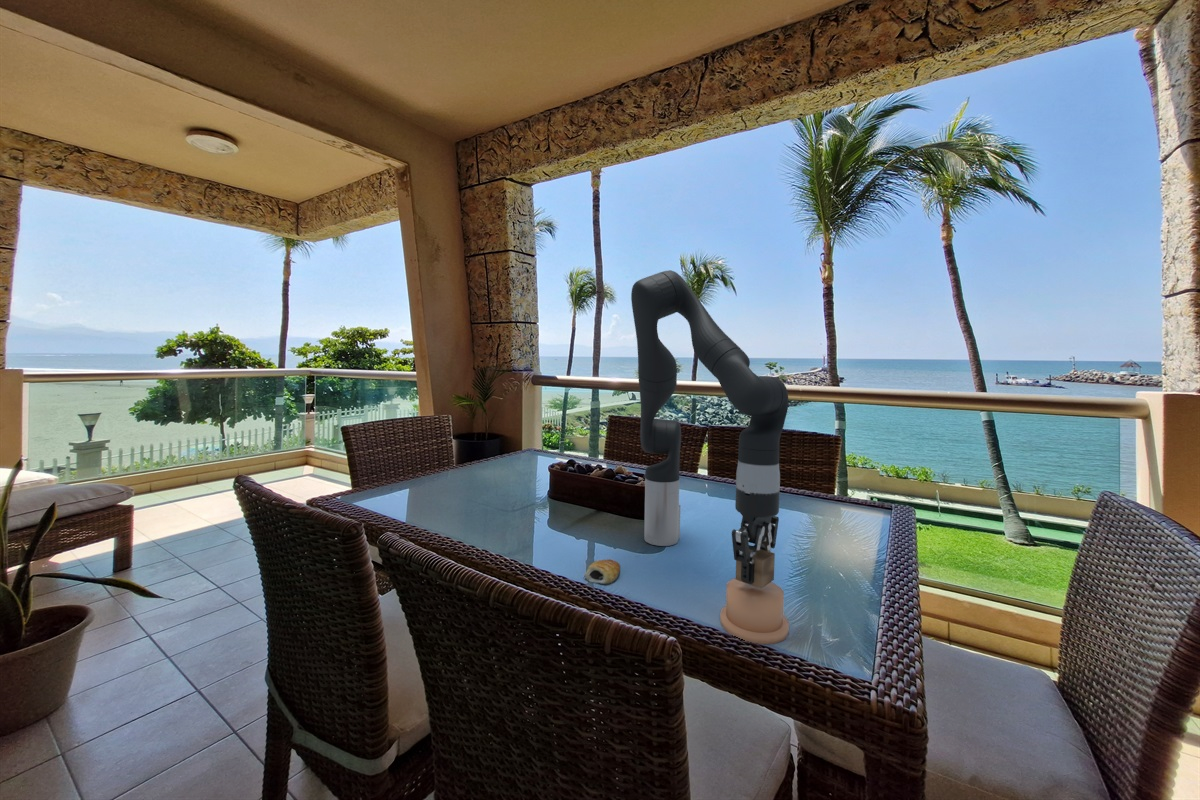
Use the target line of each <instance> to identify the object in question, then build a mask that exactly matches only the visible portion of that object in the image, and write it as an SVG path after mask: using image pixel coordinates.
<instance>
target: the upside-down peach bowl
mask: <svg viewBox="0 0 1200 800" xmlns="http://www.w3.org/2000/svg"><path fill="white" fill-rule="evenodd" d="M725 593H726V597H725V598H726V600H725V602H726V603H725V604H726V605H725V606H723V607H722V609H721V610H720V613H719V614H720V615H719V618H720V625H721V627H722V628H723V629H724V631H725V632H726V633H728V634H729V635H730V636H732V635H733V637H734V636H736V637H738V638H740V639H739V640H741V639H743V640H745V642H747V641H749V642H748V643H750V642H752V643H751V644H756V643H758V644H757V645H774V644H777V643H780V642H783V641H784V640H786V638H788V636H789V633H790V631H789V629H790V624H789V620H788V618H787V617H786V616H785V614H784V605H785V603H784V602H785V601H784V599H785V597H784V596H785V592H784V589H783V588H782V587H781V586H779V585H778V584H776V583H775V582H773V581H772V582H770V583H769V584H767V585H766V586H764V587H763V588H762V589H761V588H758V587H755V586H752V585H749V584H747V583H744V582H741V581H738V580H736V577H735V578H731V579H730V580H728V581H727V583H726V592H725ZM736 637H735V638H736ZM738 638H737V639H738ZM743 640H742V641H743Z"/></svg>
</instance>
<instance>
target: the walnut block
mask: <svg viewBox="0 0 1200 800" xmlns="http://www.w3.org/2000/svg"><path fill="white" fill-rule="evenodd" d="M739 553H740V551H739ZM749 553H750V554H751V550H750V549H749ZM775 556H776V554H775V552H772V551H771V552H769V551H765V550H762V549H760V550H759V551H758V552H756V557H755V562H754V564H755V566H754V583H752V584H749V585H752V586H755V587H758V588H761V589H762V588H763V587H764V586H766V585H767V584H769V583H770V582H773V581H774V580H775V563H776V562H775V560H776V559H775V558H776V557H775ZM735 578H736V580H738V581H741V582H743V581H742V580H741V562H740V561H736V560H735ZM744 583H745V582H744ZM747 584H748V583H747Z"/></svg>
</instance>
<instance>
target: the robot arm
mask: <svg viewBox="0 0 1200 800" xmlns="http://www.w3.org/2000/svg"><path fill="white" fill-rule="evenodd" d="M630 295H631V296H630V299H631V309H632V316H633V321H634V322H633V323H634V327H635V328H634V329H635V334H636V335H635V336H636V347H637V358H638V359H637V361H638V362H637V373H638V376H637V377H638V388H639V389H638V390H639V398H640V401H639V402H640V427H639V428H640V432H639V433H640V434H639V435H640V436H639V437H640V439H639V441H640V446H641V450H642V451H643V452H644V453H646V454H658V455H668V456H667V457H666V458H665V459H664V460H661V461H660V462H658V463H657V462H656V463H654V464H652V465H649V466H647V467H646V468H645V472H644V473H645V475H644V477H645V478H644V528H643V529H644V535H643V537H644V538H643V539H644V541H645V542H646V543H648V544H650V545H652V546H659V547H670V546H674V545H676V544H678V542H679V540H680V539H681V505H680V458H681V457H680V456H681V443H682V428H681V427H682V426H681V424H680V421H678V420H675V419H655V417H656V415H657V414H658V412H659V411H660V409H661V408H662V407H663V406H664V405H665V404H666V403H667V402H668V401H669V399H671V398H672V395H674V393H675V391H676V388H677V384H678V383H677V377H678V376H677V375H678V366H677V365H678V364H677V360H676V358H675V357H674V355H673V353H672V352H671V351H670V350H669V349H668V348H667V347H666V346H665V344H664V343H663V342H662V341H661V340H660V337H659V333H658V323H659V320H661V319H663V318H666V317H669V316H671V315H673V314H675V313H678V314H679V315H680V316H682V317H683V318H684V319H685V320H686V321H687V323H688V325H689V330H690V334H691V335H690V337H691V344H692V349H693V352H694V353H695V356H696V357H697V359H698V360H699V361H700V363H701V364H702V365H703V366H704V367H705V368H706V369H707V370H708V371H709V372H710V374H712V376H714V378H715V379H717V380H718V382H719V385H720V387H721V389H722V390H723V393H724V394H725V395H726V397H727V400H728V401H729V402H730V403H731V405H732V406H733V407H734V408H735V409H736V410H737V411H739V412H740V413H741V414H743V415H745V416H749V417H750V419H749V424H748V426H747V427H745V428H744V429H743V430H741V432H740V434H739V436H738V437H739V438H738V459H737V467H736V475H735V476H736V477H735V481H736V482H735V504H734V506H735V510H736V511H737V512H738V513H739V514H741V516H742V517H741V523H740V528H739V529H735V528H734V529H732V531H731V540H732V541H731V542H732V551H733V559H734V560H735V562H736V561H740V562H741V580H742V581H743V582H745V583H748V584H752V583H754V566H755V564H754V562H755V557H756V552H758V551H759V550H760V549H762V550H765V551H769V552H772V549H775V547H776V542H777V534H778V527H779V522H780V521H779V520H780V519H779V516H777V515H778V514H779V512H780V488H781V486H780V485H781V472H780V446H781V445H780V440H781V437H782V436H781V435H782V432H783V429H784V426H785V421H786V417H787V415H788V414H787V413H788V408H789V392H788V389H787V386H786V385H785V383H784V381H782V380H781V379H779V378H778V377H776V376H769V375H765V376H763V375H760V376H759V375H757V374H756V373H754V371H752V370H751V368H750V363H751V362H750V358H749V356H748V355H747V354H746V352H744V350H743V349H742V348H741V347H740V346H739V345H738V344H737V343H736V342H734V340H733V339H731V337H729V336H728V335H727V334H726V333H725V332H724V330H722V329H721V327H720V326H719V325H718V324H717V323H716V322H715V320H714V319H713V318H712V315H710V314H709V312H708V310H707V309H706V308H705V306H704V304H702V302H701V300H700V299H699V298H698V296H697V295H696V294H695V292H694V291H693V289H692V288H691V287H690V285H689V284H688V283H687V282H686V280H685V279H684V278H683V277H682V276H681V275H680V274H679V273H678V272H676V271H673V270H664V271H660V272H657V273H655V274H652V275H649V276H646V277H643V278H641V279H639V280H636V281H635V282H634V283H633V285H632V288H631V294H630ZM750 544H751V545H750ZM752 544H753V545H752ZM749 549H750V550H751V554H750V553H749ZM739 551H740V553H739Z"/></svg>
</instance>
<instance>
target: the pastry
mask: <svg viewBox="0 0 1200 800" xmlns="http://www.w3.org/2000/svg"><path fill="white" fill-rule="evenodd" d="M620 570H621V565H620V563H619V562H618V561H615V560H614V559H610V558H609V559H608V558H607V559H601V560H595V561H593V562H592V563H590V564H589V566H588V567H587V570H586V572H585V573H584V577H585V579H586V580H587V581H588V582H590V583H596V584H601V585H608V584H609V585H610V584H612V583H614V582H615V581H616V580H617V579H618V577H619V574H620V572H621V571H620Z"/></svg>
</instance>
